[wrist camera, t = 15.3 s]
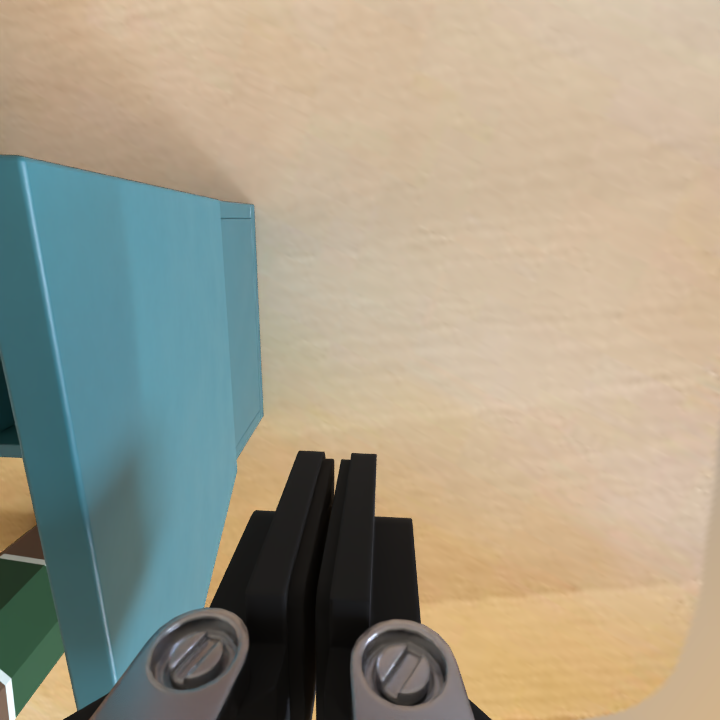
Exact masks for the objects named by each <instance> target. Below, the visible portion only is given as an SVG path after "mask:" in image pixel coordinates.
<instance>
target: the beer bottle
mask: <svg viewBox="0 0 720 720" xmlns="http://www.w3.org/2000/svg"><path fill="white" fill-rule="evenodd" d="M63 653H64V647H63V642H62V638H61V633H60V629H59V624H58V619H57V615H56V610H55V606H54V601H53V596H52V592H51V587H50V582H49V578H48V573H47V569H46V564H45V559H44V555H43V550H42V546H41V541H40V536H39V532H38V527H37V525H36V526H35V527H33V528H32V529H31V530H29V531H28V532H27V533H25V534H24V535H23V536H21V537H20V538H19V539H17V540H16V541H15V542H14V543H12V544H11V545H10V546H9V547H7V548H6V549H5V550H3V551H2V552H1V553H0V720H15V718H16V717H17V716H18V714H19V713H20V711H21V710H22V709H23V707H24V706H25V705H26V703H27V702H28V701H29V699H30V698H31V697H32V695H33V694H34V692H35V691H36V690H37V688H38V687H39V686H40V684H41V683H42V682H43V680H44V679H45V677H46V676H47V675H48V673H49V672H50V671H51V669H52V668H53V667H54V665H55V664H56V663H57V661H58V660H59V658H60V657H61V656H62V654H63Z"/></svg>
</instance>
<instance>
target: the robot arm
mask: <svg viewBox="0 0 720 720" xmlns="http://www.w3.org/2000/svg"><path fill="white" fill-rule="evenodd" d="M376 458H377V454H360V453H352V454H351V460H344V459H342V460H341V464H340V469H339V474H338V479H337V485H336V490H335V495H334V459H325V452H316V451H299V452H298V454H297V457H296V459H295V462H294V464H293V467H292V470H291V472H290V475H289V478H288V480H287V483H286V485H285V488H284V491H283V493H282V496H281V499H280V501H279V504H278V507H277V509H276V511H259V510H256V511H254V512H253V514H252V516H251V518H250V520H249V522H248V524H247V526H246V529H245V531H244V533H243V535H242V537H241V539H240V542H239V544H238V546H237V548H236V550H235V553H234V555H233V557H232V559H231V561H230V564H229V566H228V568H227V570H226V572H225V575H224V577H223V579H222V581H221V583H220V585H219V588H218V590H217V592H216V594H215V596H214V599H213V601H212V603H211V605H210V607H209V608H207V607H206V608H201V609H195V610H190V611H188V612H186V613H183V614H181V615H178V616H176V617H174V618H173V619H171V620H170V621H168V622H167V623H165V624H164V625H163V626H161V627H160V628H159V629H158V630H157V631H156V632H155V633H154V634H153V635H152V636H151V637H150V639H149V640H148V641H147V642H146V644H145V645H144V646H143V648H142V649H141V650H140V652H139V653H138V654H137V656H136V657H135V658H134V660H133V661H132V662H131V664H130V665H129V667H128V668H127V669H126V671H125V672H124V673H123V675H122V676H121V677H120V679H119V680H118V681H117V683H116V684H115V685H114V687H113V688H112V689H111V691H110V692H109V693H108V694H106V695H104V696H103V697H101V698H99V699H97V700H96V701H94V702H92V703H91V704H89V705H87V706H86V707H84V708H82V709H80V710H79V711H77V712H75V713H74V714H72V715H70V716H69V717H67V718H65V719H63V720H312V714H313V707H314V700H315V694H316V720H491V719H490V718H489V717H488V716H487V715H486V714H485V713H484V712H483V711H481V710H480V709H479V708H478V707H477V706H476V705H475V704H474V703H473V702H471V701H470V700H469V699H468V696H467V693H466V690H465V687H464V684H463V680H462V677H461V674H460V671H459V668H458V665H457V662H456V659H455V657H454V655H453V653H452V651H451V649H450V647H449V645H448V644H447V643H446V642H445V641H444V640H443V639H442V637H441V636H440V635H439V634H438V633H436V632H435V631H433V630H432V629H430V628H428V627H427V626H425V625H423V624H421V620H420V608H419V596H418V584H417V572H416V560H415V548H414V536H413V525H412V519H411V518H394V517H375V487H376Z"/></svg>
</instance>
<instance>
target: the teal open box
mask: <svg viewBox="0 0 720 720" xmlns="http://www.w3.org/2000/svg"><path fill="white" fill-rule="evenodd" d="M220 215H221V230H222V246H223V261H224V276H225V292H226V307H227V322H228V338H229V353H230V369H231V384H232V399H233V415H234V430H235V446H236V460H237V458H238V456H239V455H240V453H241V451H242V450H243V448H244V447H245V445H246V443H247V442H248V440H249V438H250V437H251V435H252V433H253V432H254V430H255V429H256V427H257V425H258V424H259V422H260V420H261V419H262V417H263V395H262V373H261V350H260V327H259V305H258V282H257V260H256V237H255V215H254V205H253V204H245V203H237V202H228V201H220ZM0 457H15V458H22V453H21V449H20V444H19V439H18V435H17V430H16V426H15V421H14V416H13V412H12V407H11V403H10V398H9V393H8V389H7V384H6V379H5V375H4V370H3V366H2V361H1V356H0Z"/></svg>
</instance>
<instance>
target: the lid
mask: <svg viewBox="0 0 720 720" xmlns="http://www.w3.org/2000/svg"><path fill="white" fill-rule="evenodd" d="M0 356H1V361H2V366H3V370H4V375H5V379H6V384H7V389H8V393H9V398H10V403H11V407H12V412H13V416H14V421H15V426H16V430H17V435H18V439H19V444H20V449H21V453H22V458H23V463H24V467H25V472H26V476H27V481H28V486H29V490H30V495H31V499H32V504H33V509H34V513H35V518H36V522H37V527H38V532H39V536H40V541H41V546H42V550H43V555H44V559H45V564H46V569H47V573H48V578H49V582H50V587H51V592H52V596H53V601H54V606H55V610H56V615H57V619H58V624H59V629H60V633H61V638H62V642H63V647H64V652H65V656H66V661H67V665H68V670H69V675H70V679H71V684H72V689H73V693H74V698H75V702H76V707H77V711H79V710H80V709H82V708H84V707H86V706H87V705H89V704H91V703H92V702H94V701H96V700H97V699H99V698H101V697H103V696H104V695H106V694H108V693H109V692H110V691H111V689H112V688H113V687H114V685H115V684H116V683H117V681H118V680H119V679H120V677H121V676H122V675H123V673H124V672H125V671H126V669H127V668H128V667H129V665H130V664H131V662H132V661H133V660H134V658H135V657H136V656H137V654H138V653H139V652H140V650H141V649H142V648H143V646H144V645H145V644H146V642H147V641H148V640H149V639H150V637H151V636H152V635H153V634H154V633H155V632H156V631H157V630H158V629H159V628H160V627H161V626H163V625H164V624H165V623H167V622H168V621H170V620H171V619H173V618H174V617H176V616H178V615H181V614H183V613H186V612H188V611H190V610H195V609H201V608H204V605H205V601H206V597H207V593H208V589H209V585H210V581H211V576H212V572H213V568H214V564H215V560H216V556H217V552H218V548H219V544H220V539H221V535H222V531H223V527H224V523H225V519H226V515H227V511H228V506H229V502H230V498H231V494H232V490H233V486H234V482H235V478H236V474H237V461H236V446H235V430H234V415H233V399H232V384H231V369H230V353H229V338H228V322H227V307H226V292H225V276H224V261H223V246H222V230H221V215H220V201H219V200H217V199H213V198H209V197H204V196H200V195H195V194H191V193H186V192H182V191H177V190H173V189H168V188H164V187H159V186H155V185H150V184H146V183H141V182H137V181H132V180H128V179H123V178H118V177H114V176H109V175H105V174H100V173H96V172H91V171H87V170H82V169H78V168H73V167H69V166H64V165H60V164H55V163H51V162H46V161H42V160H37V159H33V158H28V157H24V156H19V155H0Z"/></svg>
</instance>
